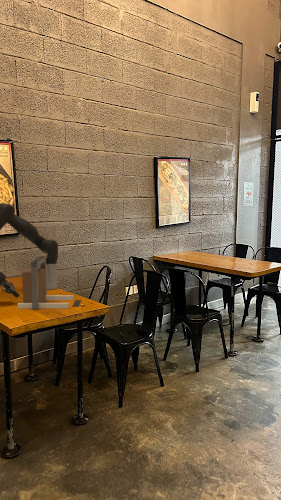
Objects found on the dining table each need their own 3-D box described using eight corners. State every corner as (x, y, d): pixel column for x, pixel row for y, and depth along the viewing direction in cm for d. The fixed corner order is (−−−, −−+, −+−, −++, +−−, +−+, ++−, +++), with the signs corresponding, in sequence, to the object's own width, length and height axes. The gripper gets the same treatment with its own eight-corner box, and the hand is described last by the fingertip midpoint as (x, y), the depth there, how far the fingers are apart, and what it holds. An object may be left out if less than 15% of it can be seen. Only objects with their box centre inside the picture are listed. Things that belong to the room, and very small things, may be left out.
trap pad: (75, 300, 231) (75, 300, 231) (81, 300, 231) (81, 300, 231) (72, 306, 217) (72, 306, 217) (78, 306, 217) (78, 306, 217)
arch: (41, 298, 235) (40, 256, 232) (46, 298, 236) (45, 256, 232) (32, 309, 212) (30, 262, 209) (37, 309, 212) (36, 262, 209)
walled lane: (27, 299, 233) (26, 295, 233) (73, 299, 234) (73, 295, 234) (17, 308, 213) (17, 304, 213) (68, 308, 214) (68, 303, 214)
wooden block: (38, 306, 218) (37, 271, 215) (22, 305, 220) (21, 270, 217) (46, 302, 227) (45, 268, 225) (30, 301, 229) (29, 267, 227)
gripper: (-4, 273, 214) (19, 294, 216) (4, 269, 227) (25, 289, 229) (-13, 282, 214) (10, 304, 216) (-5, 278, 228) (17, 298, 229)
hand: (18, 296), depth 223 cm, fingers closed
